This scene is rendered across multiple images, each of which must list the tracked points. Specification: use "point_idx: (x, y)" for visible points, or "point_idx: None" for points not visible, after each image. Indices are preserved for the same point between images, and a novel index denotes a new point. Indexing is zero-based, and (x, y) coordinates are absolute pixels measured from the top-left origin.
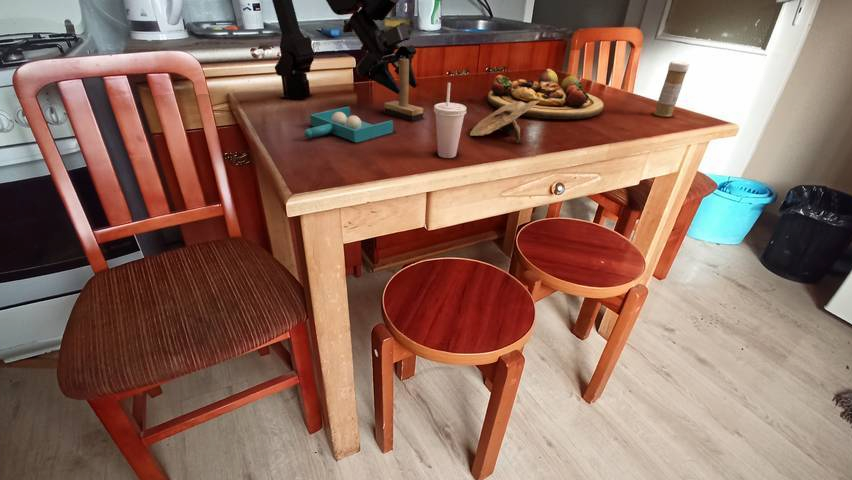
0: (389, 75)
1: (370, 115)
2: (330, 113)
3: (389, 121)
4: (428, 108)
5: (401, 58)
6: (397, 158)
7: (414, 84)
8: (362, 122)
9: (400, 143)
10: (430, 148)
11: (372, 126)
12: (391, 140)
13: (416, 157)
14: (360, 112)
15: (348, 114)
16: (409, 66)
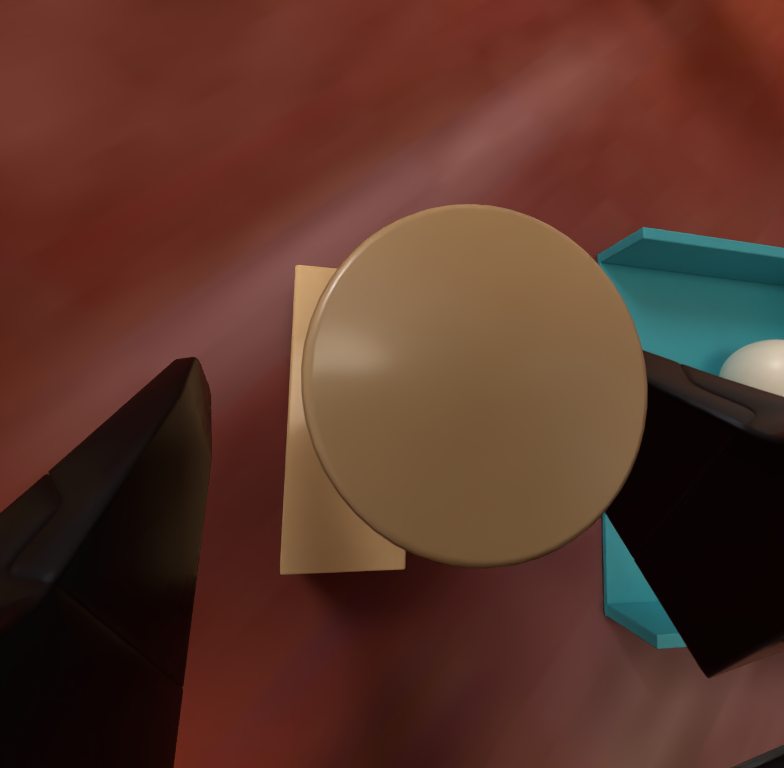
0: (722, 384)
1: (486, 568)
2: None
3: (666, 231)
4: (39, 427)
5: (464, 550)
6: (767, 58)
7: (201, 382)
8: None
9: (665, 139)
10: (618, 12)
11: (765, 246)
12: (669, 190)
13: (716, 9)
14: (488, 667)
15: (631, 612)
16: (29, 565)
